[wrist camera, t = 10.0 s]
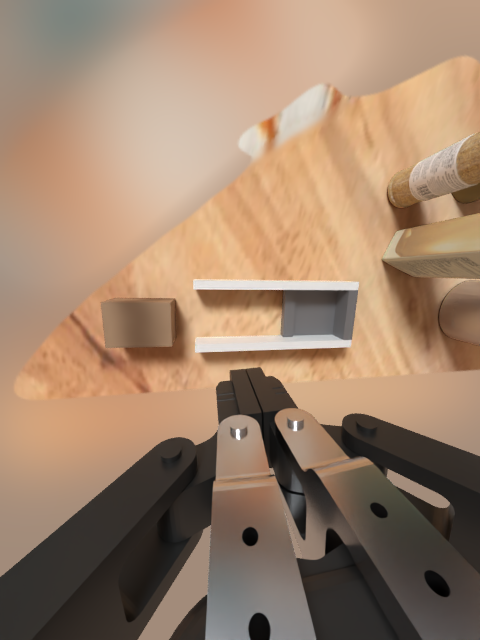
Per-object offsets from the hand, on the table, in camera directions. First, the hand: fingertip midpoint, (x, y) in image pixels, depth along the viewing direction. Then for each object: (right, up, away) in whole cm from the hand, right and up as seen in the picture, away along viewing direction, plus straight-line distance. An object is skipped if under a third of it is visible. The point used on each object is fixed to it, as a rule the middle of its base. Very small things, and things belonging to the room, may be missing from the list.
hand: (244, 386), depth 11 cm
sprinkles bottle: (+21, +20, +19) cm, 34 cm away
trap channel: (+4, +4, +19) cm, 20 cm away
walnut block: (-12, +4, +17) cm, 21 cm away
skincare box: (+23, +12, +21) cm, 33 cm away
